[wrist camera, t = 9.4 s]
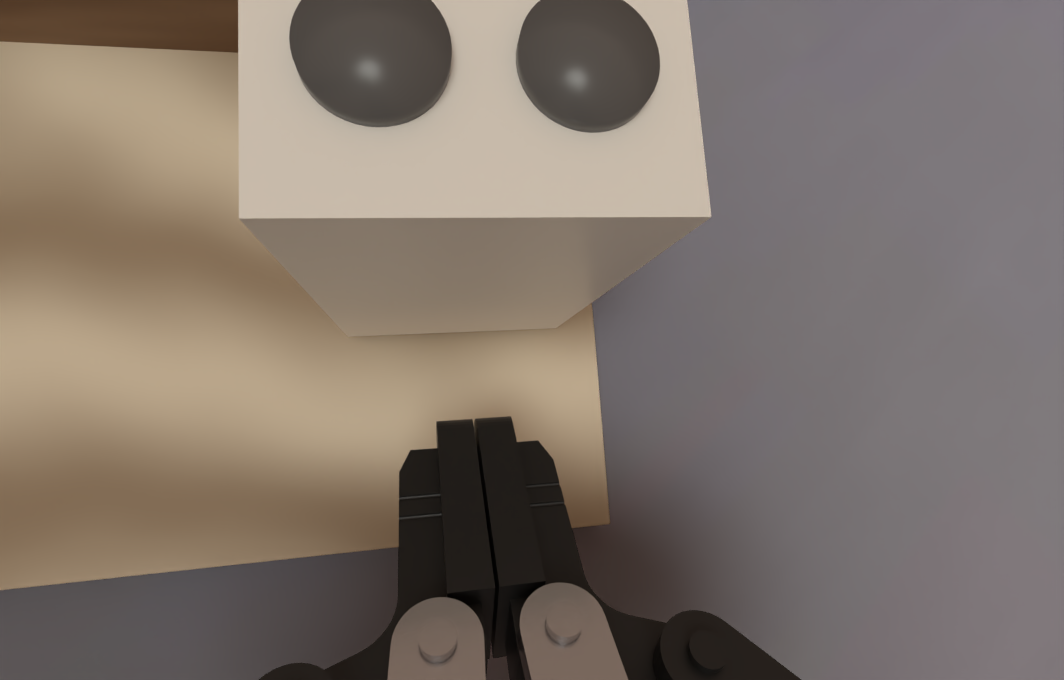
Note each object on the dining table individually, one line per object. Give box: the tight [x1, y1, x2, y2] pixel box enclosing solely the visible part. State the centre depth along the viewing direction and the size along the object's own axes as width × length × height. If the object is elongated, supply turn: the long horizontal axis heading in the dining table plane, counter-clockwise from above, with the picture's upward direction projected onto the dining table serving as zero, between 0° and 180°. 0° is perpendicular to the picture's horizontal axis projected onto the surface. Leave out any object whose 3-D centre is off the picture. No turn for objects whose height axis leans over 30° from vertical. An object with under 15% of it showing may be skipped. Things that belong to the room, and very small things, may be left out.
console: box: [0, 0, 610, 590], centre depth 13 cm, size 15×24×5 cm, turn 94°
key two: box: [238, 0, 711, 337], centre depth 11 cm, size 4×6×9 cm
